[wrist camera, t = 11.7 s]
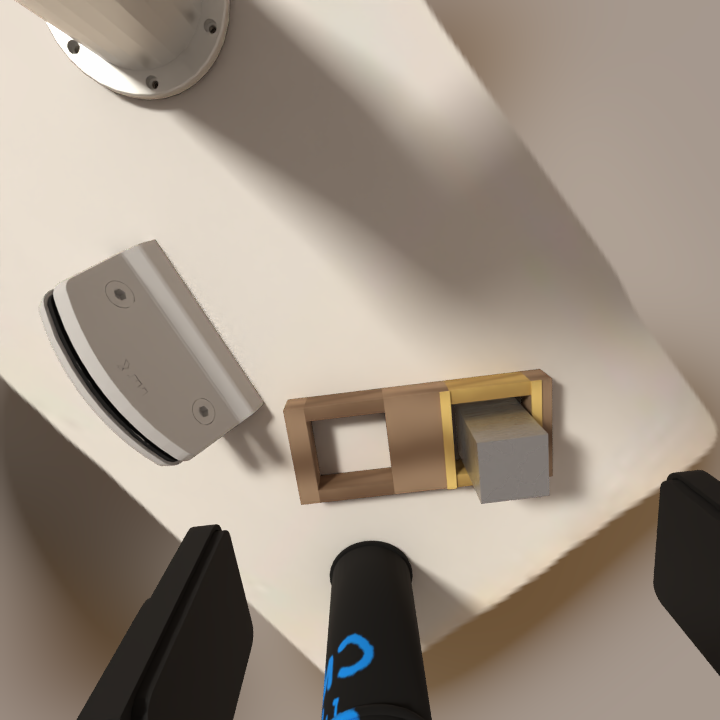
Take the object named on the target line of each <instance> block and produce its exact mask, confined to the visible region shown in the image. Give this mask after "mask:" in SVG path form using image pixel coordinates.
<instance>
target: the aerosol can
mask: <svg viewBox="0 0 720 720" xmlns="http://www.w3.org/2000/svg"><path fill="white" fill-rule="evenodd" d="M412 578H413V576H412V568H411V564H410V563H409V561H408V559H407V557H406V556H405V555H404V554H403V553H402V552H401V551H400V550H399V549H397V548H396V547H394V546H392V545H390V544H387V543H384V542H379V541H364V542H359V543H356V544H353V545H351V546H349V547H347V548H346V549H344V550H343V551H342V552H341V553H340V554H339V555H338V556H337V557H336V559H335V560H334V562H333V564H332V567H331V570H330V582H331V585H332V588H331V601H330V614H329V628H328V641H327V654H326V667H325V680H324V693H323V708H322V720H432V718H431V712H430V705H429V698H428V692H427V685H426V678H425V671H424V665H423V658H422V651H421V644H420V638H419V631H418V624H417V617H416V611H415V604H414V597H413V591H412V584H411V583H412Z"/></svg>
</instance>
